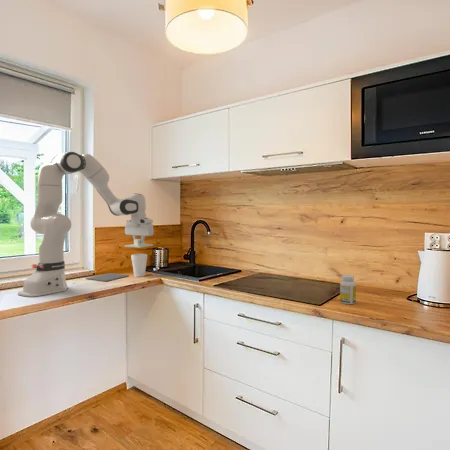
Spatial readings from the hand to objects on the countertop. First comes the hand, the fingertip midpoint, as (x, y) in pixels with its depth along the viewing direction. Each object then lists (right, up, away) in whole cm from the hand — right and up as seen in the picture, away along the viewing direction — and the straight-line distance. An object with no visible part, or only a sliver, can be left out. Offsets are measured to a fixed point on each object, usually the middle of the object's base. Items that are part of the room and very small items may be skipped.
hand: (139, 242), depth 206 cm
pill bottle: (+106, -23, -60) cm, 124 cm away
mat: (-18, -21, -4) cm, 27 cm away
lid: (0, -2, 0) cm, 2 cm away
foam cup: (0, -21, +1) cm, 21 cm away
